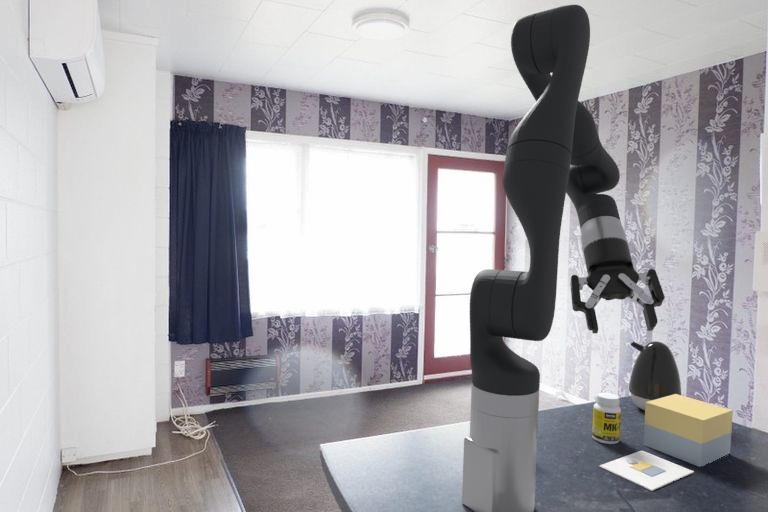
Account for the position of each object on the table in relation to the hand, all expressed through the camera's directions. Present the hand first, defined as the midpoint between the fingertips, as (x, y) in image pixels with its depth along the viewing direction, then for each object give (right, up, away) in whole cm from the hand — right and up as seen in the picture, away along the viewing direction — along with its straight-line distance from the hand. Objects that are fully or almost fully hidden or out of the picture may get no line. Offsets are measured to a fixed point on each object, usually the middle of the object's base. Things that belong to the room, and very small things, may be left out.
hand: (623, 330), depth 85 cm
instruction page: (+4, -23, 0) cm, 23 cm away
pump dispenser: (+20, -22, +29) cm, 41 cm away
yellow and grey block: (+15, -23, +8) cm, 29 cm away
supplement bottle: (+2, -22, +12) cm, 26 cm away
